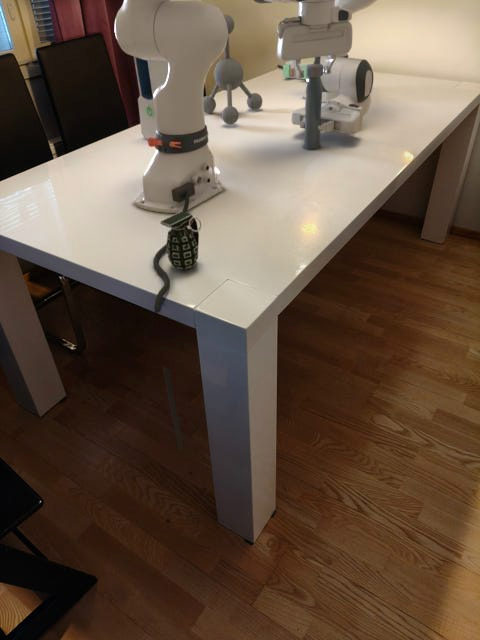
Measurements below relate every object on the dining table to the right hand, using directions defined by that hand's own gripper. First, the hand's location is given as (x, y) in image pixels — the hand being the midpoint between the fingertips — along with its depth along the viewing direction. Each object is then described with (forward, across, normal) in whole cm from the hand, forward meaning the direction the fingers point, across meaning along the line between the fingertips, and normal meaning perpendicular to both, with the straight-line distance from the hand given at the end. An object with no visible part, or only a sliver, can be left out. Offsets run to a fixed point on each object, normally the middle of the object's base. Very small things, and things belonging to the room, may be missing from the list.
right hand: (311, 127), depth 136 cm
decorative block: (-80, -50, +6) cm, 95 cm away
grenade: (+68, +14, +6) cm, 69 cm away
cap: (-1, 0, -15) cm, 15 cm away
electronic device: (+15, -44, +6) cm, 47 cm away
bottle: (-1, 0, +6) cm, 6 cm away
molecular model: (-16, -40, +6) cm, 43 cm away
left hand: (-1, 0, -13) cm, 13 cm away
